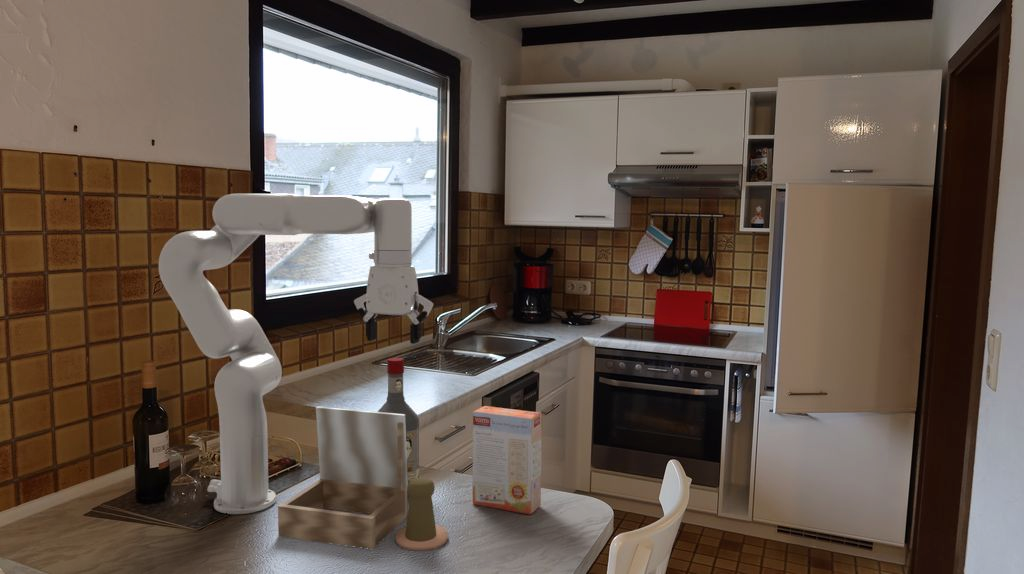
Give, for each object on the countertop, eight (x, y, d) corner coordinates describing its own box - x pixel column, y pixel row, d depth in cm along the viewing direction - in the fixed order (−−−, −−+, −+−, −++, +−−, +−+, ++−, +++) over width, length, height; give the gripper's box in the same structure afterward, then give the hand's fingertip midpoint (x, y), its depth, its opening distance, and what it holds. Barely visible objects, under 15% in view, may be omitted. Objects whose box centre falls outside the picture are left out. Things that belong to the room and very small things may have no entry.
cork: (440, 529, 143) (440, 475, 142) (430, 543, 137) (430, 486, 136) (411, 526, 144) (411, 472, 143) (400, 539, 138) (400, 483, 137)
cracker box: (541, 506, 158) (543, 411, 156) (530, 516, 152) (532, 418, 150) (484, 495, 164) (484, 403, 162) (471, 504, 158) (472, 410, 156)
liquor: (368, 486, 168) (368, 358, 165) (404, 478, 173) (404, 354, 171) (386, 498, 161) (386, 365, 158) (423, 490, 166) (423, 360, 163)
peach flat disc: (386, 546, 137) (386, 541, 137) (408, 525, 147) (408, 520, 147) (436, 553, 135) (436, 548, 134) (455, 531, 144) (455, 526, 144)
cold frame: (278, 536, 141) (276, 425, 139) (322, 504, 157) (320, 404, 155) (372, 549, 136) (371, 435, 134) (407, 515, 152) (407, 412, 149)
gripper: (346, 258, 148) (346, 341, 149) (425, 261, 143) (425, 346, 145) (363, 256, 155) (363, 336, 157) (439, 259, 150) (438, 340, 152)
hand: (393, 341), depth 151 cm, fingers open, 9 cm apart
